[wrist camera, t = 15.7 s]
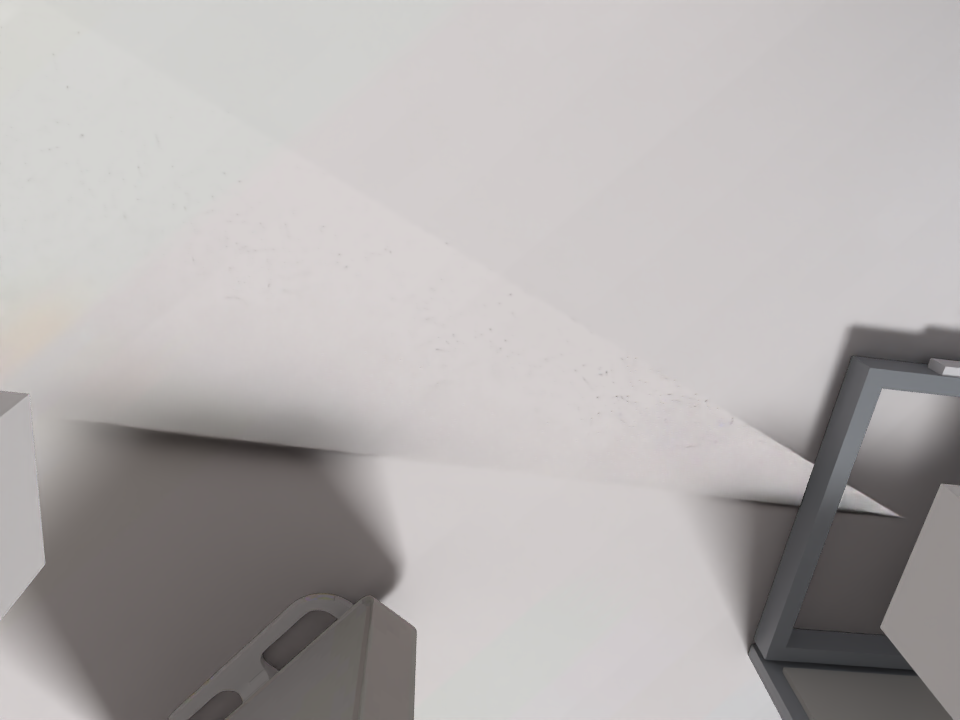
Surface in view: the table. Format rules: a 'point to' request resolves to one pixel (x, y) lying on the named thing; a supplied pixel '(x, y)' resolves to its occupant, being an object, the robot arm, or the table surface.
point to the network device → (323, 668)
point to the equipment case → (810, 653)
